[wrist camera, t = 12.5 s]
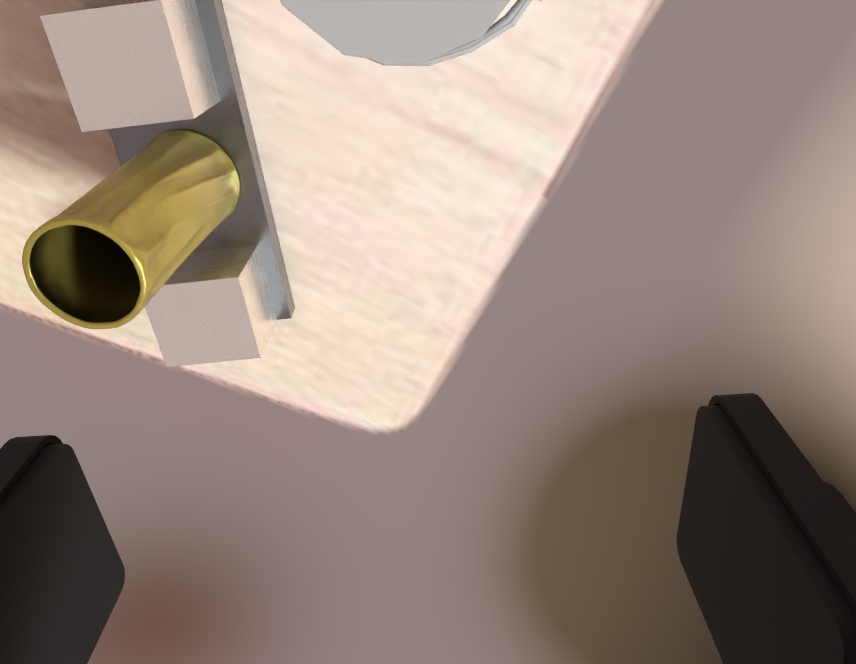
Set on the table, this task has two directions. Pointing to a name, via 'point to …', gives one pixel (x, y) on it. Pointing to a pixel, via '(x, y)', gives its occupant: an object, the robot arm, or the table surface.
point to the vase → (131, 231)
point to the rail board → (190, 111)
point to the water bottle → (406, 27)
